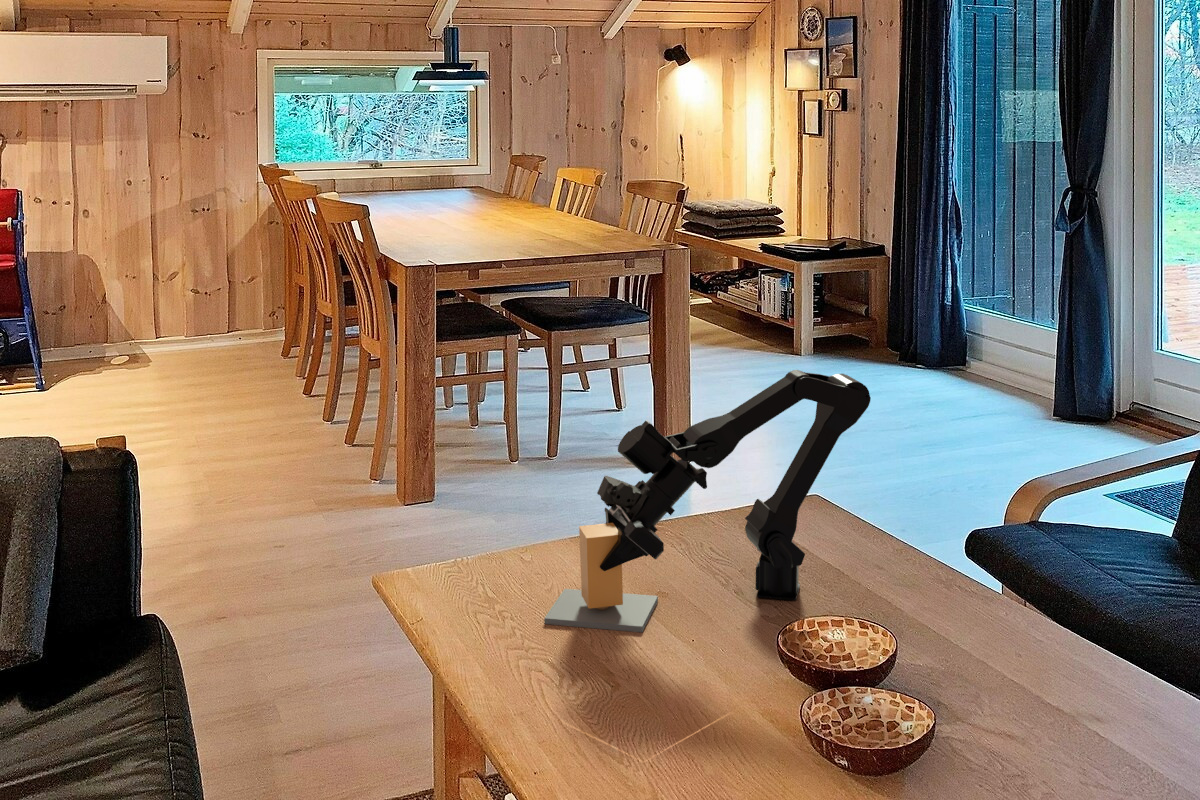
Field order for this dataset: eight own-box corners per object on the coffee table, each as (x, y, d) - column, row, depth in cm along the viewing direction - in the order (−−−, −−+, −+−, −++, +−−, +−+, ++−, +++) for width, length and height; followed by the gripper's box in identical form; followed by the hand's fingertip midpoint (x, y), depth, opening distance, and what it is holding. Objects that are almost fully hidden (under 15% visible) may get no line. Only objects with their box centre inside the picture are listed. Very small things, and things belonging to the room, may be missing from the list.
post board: (657, 601, 214) (657, 576, 213) (642, 632, 203) (641, 605, 201) (564, 594, 218) (564, 569, 217) (544, 623, 207) (543, 597, 205)
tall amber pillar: (614, 591, 213) (612, 522, 210) (622, 604, 208) (621, 534, 204) (581, 595, 212) (579, 526, 209) (588, 608, 206) (586, 538, 203)
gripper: (613, 443, 213) (550, 513, 214) (642, 478, 196) (573, 554, 196) (660, 484, 217) (598, 552, 218) (692, 521, 199) (624, 596, 200)
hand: (597, 562), depth 208 cm, fingers closed on tall amber pillar, 6 cm apart
